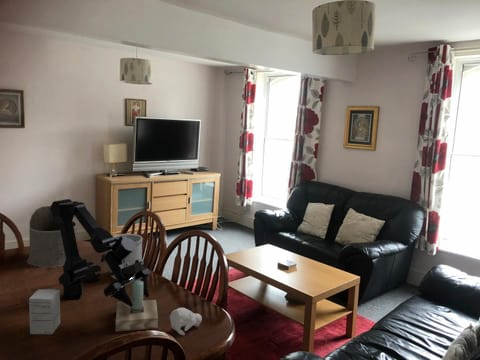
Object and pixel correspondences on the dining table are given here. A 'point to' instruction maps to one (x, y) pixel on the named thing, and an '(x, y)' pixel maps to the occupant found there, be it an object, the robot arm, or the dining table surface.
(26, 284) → the dining table surface
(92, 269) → the end cap
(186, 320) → the white rounded figure
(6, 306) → the dining table surface
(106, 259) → the robot arm
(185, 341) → the dining table surface
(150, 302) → the square hole wooden block
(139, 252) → the utensil holder
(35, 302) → the supplement box
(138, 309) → the plug
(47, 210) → the gray lidded bin
